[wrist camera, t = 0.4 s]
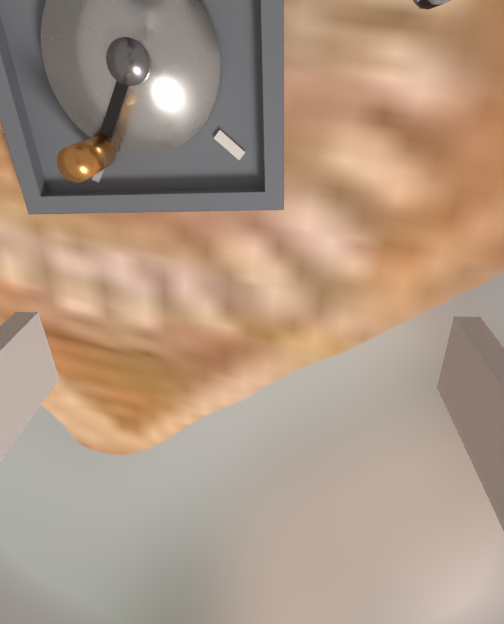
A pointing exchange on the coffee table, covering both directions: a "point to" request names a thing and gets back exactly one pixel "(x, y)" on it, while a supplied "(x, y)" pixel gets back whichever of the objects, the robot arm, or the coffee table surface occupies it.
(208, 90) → the dial
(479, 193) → the coffee table surface
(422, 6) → the film camera
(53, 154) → the panel
